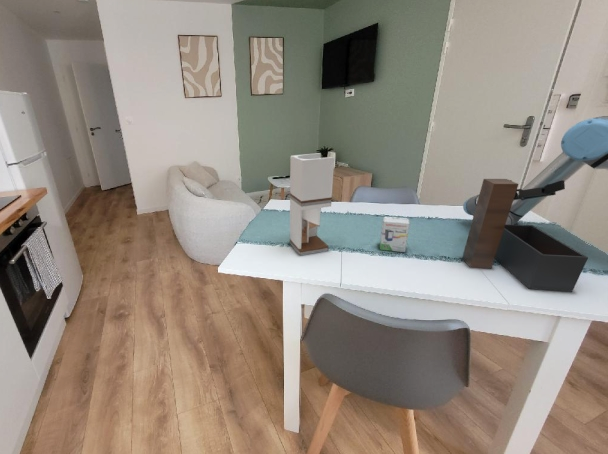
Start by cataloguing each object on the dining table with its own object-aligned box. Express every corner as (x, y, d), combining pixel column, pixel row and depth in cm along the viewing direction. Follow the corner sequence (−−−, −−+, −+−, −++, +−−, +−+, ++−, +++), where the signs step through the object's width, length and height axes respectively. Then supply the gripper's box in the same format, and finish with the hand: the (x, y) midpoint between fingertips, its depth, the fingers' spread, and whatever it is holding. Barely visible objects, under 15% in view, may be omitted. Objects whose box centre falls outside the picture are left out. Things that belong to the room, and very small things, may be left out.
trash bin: (488, 252, 103) (496, 224, 99) (521, 254, 101) (532, 225, 96) (528, 288, 83) (542, 255, 79) (572, 292, 81) (588, 257, 76)
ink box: (403, 246, 110) (409, 217, 105) (405, 253, 105) (410, 223, 101) (379, 244, 113) (383, 215, 108) (379, 250, 108) (383, 220, 104)
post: (461, 258, 100) (483, 178, 89) (481, 259, 99) (506, 178, 88) (470, 267, 95) (494, 183, 84) (491, 268, 93) (518, 183, 82)
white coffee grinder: (300, 255, 108) (302, 160, 94) (289, 243, 117) (290, 155, 104) (328, 250, 110) (334, 157, 96) (315, 239, 120) (319, 153, 106)
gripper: (456, 189, 112) (488, 172, 92) (532, 190, 107) (585, 172, 86) (456, 208, 111) (489, 195, 91) (533, 209, 106) (587, 197, 86)
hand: (536, 184), depth 89 cm, fingers open, 13 cm apart
